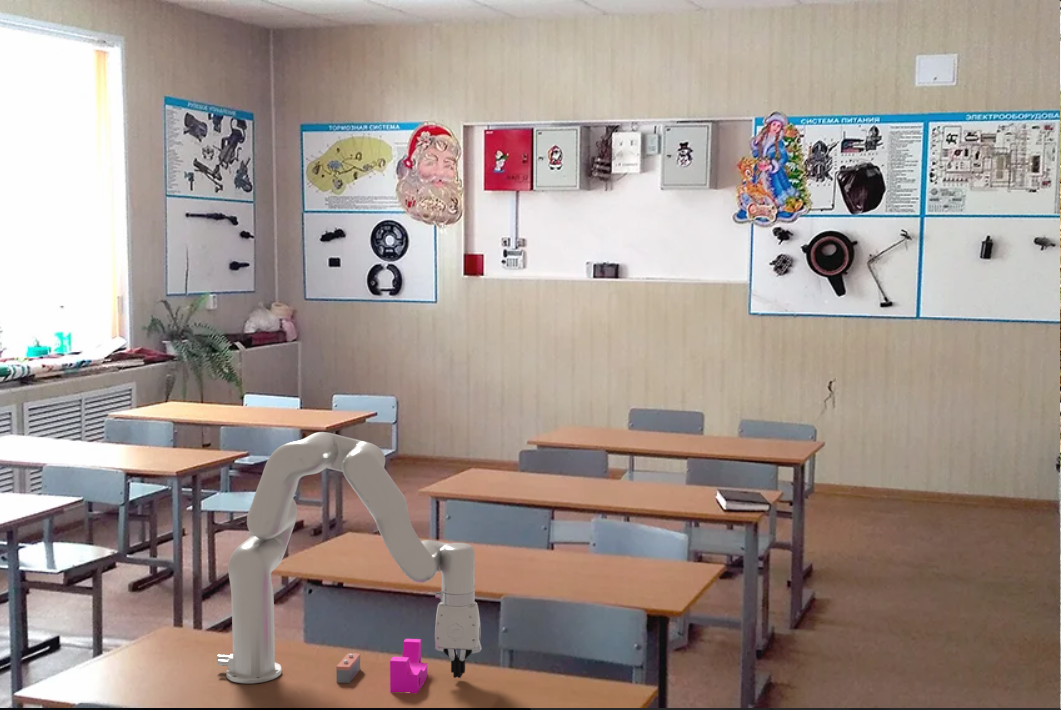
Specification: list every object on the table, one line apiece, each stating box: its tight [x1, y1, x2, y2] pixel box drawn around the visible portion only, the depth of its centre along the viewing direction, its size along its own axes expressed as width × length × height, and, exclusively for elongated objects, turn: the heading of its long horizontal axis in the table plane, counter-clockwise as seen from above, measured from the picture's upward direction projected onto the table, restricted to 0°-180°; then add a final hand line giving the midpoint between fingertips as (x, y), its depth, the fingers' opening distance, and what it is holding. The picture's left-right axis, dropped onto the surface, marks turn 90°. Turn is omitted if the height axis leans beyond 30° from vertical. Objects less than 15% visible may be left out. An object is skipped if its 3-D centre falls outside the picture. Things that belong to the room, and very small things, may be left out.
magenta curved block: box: [389, 638, 428, 694], centre depth 267 cm, size 15×6×8 cm, turn 173°
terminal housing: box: [335, 652, 361, 684], centre depth 270 cm, size 3×9×4 cm, turn 172°
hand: (458, 675), depth 267 cm, fingers closed
